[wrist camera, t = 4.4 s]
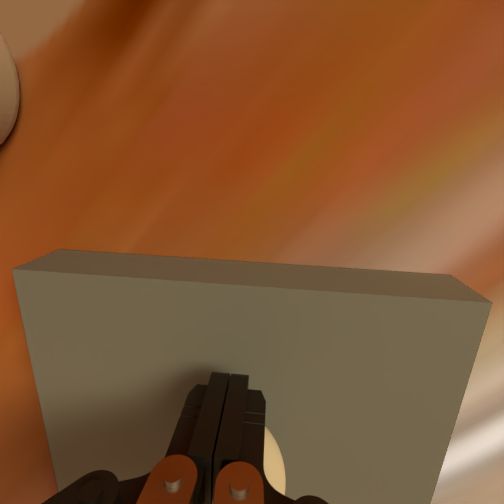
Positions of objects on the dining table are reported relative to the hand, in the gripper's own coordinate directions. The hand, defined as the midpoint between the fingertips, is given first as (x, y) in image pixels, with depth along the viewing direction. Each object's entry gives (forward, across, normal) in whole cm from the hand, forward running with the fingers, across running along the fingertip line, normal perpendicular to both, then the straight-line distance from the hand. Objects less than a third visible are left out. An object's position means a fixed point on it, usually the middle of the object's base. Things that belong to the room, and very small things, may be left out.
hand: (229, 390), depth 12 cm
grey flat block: (+5, 0, +9) cm, 10 cm away
